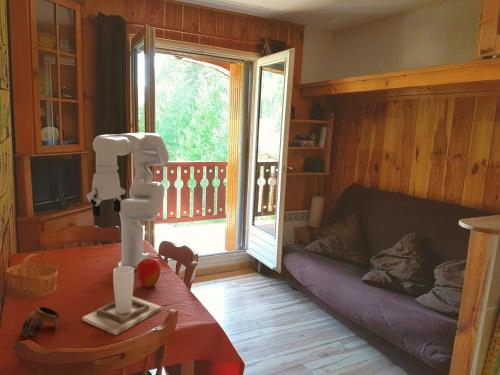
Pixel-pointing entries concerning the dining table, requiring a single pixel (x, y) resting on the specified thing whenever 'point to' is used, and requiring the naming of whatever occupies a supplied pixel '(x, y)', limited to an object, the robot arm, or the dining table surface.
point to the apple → (148, 272)
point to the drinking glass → (123, 288)
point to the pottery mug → (38, 321)
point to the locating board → (121, 316)
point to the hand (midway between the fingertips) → (107, 213)
